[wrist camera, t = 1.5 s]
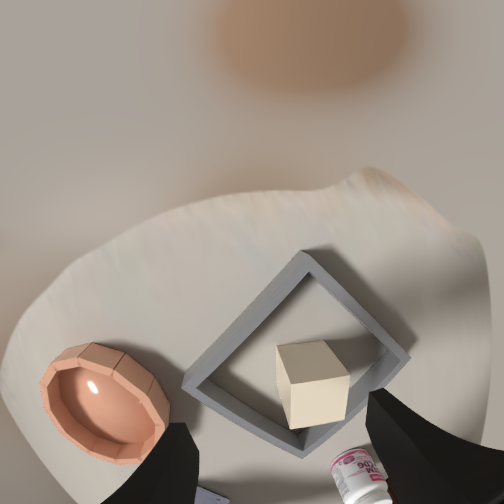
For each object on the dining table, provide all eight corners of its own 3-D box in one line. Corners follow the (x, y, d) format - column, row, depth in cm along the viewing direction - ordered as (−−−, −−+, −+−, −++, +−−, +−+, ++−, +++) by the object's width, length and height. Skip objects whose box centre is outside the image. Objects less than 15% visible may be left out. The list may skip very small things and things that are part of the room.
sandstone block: (323, 340, 23) (350, 375, 17) (321, 380, 24) (344, 419, 18) (276, 345, 23) (291, 384, 17) (276, 386, 23) (290, 429, 17)
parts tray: (397, 347, 24) (411, 357, 21) (296, 442, 24) (302, 458, 22) (299, 250, 22) (308, 254, 19) (184, 372, 22) (180, 388, 20)
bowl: (195, 405, 23) (192, 426, 20) (130, 459, 23) (124, 478, 20) (86, 317, 21) (70, 330, 18) (41, 390, 21) (28, 404, 18)
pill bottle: (371, 442, 25) (402, 491, 17) (363, 467, 26) (389, 514, 18) (332, 452, 25) (357, 506, 17) (326, 476, 25) (347, 527, 17)
